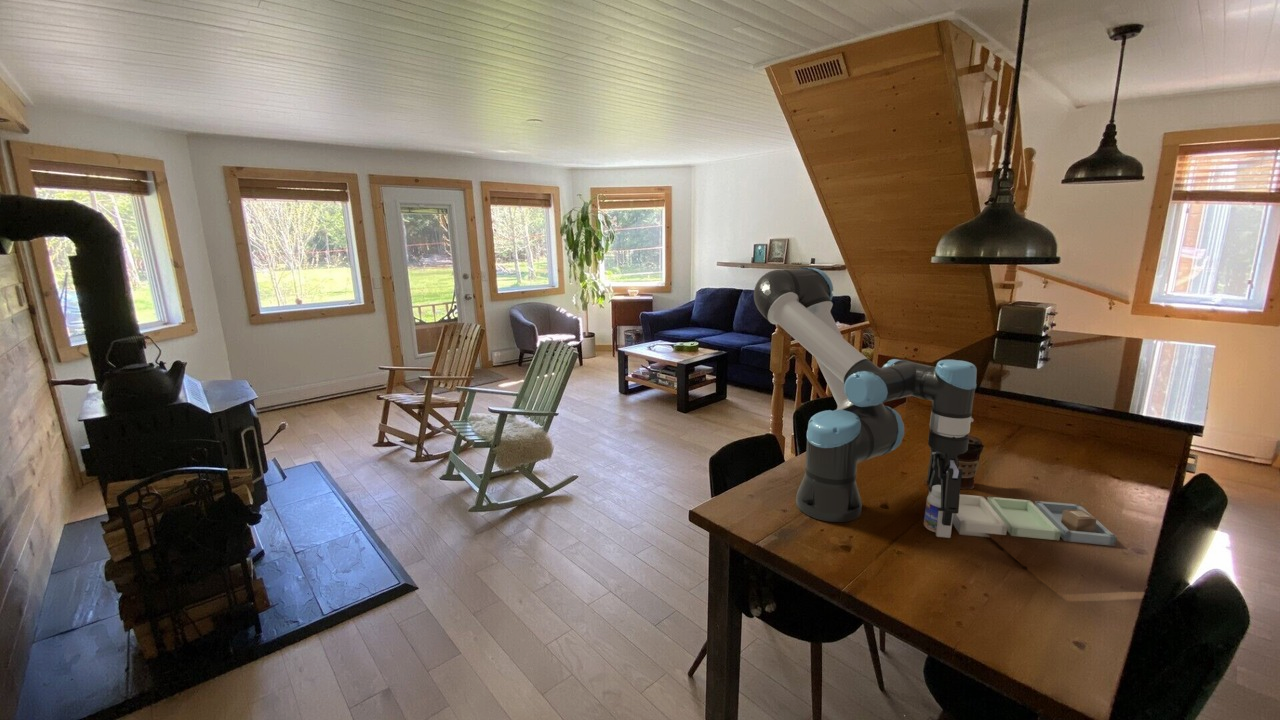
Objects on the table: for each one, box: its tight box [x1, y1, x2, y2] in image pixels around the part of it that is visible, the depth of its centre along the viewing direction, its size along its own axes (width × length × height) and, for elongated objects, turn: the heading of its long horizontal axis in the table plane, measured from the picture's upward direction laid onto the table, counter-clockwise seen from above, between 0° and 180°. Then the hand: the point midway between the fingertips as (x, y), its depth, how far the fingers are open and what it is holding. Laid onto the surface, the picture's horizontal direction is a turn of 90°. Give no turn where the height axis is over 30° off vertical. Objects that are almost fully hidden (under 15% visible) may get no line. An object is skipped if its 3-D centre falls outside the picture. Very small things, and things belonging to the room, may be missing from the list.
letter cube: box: [1061, 509, 1098, 533], centre depth 116 cm, size 4×4×4 cm
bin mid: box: [986, 496, 1061, 541], centre depth 120 cm, size 9×14×3 cm, turn 166°
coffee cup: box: [946, 435, 985, 490], centre depth 139 cm, size 9×8×13 cm
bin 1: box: [952, 493, 1008, 538], centre depth 123 cm, size 9×14×3 cm, turn 166°
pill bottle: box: [923, 485, 941, 534], centre depth 119 cm, size 5×5×10 cm
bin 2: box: [1034, 500, 1117, 547], centre depth 118 cm, size 9×14×3 cm, turn 166°
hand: (937, 527), depth 120 cm, fingers open, 7 cm apart
